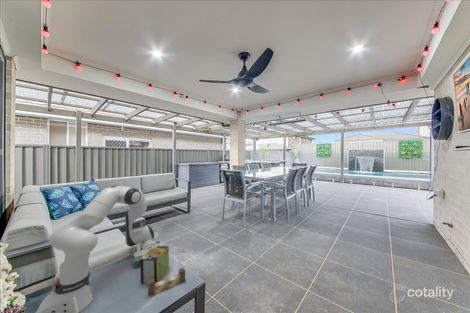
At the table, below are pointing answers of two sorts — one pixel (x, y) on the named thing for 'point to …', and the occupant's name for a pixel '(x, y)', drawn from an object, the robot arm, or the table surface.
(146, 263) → the protein box
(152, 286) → the beam
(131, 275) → the table surface
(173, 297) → the table surface
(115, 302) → the table surface
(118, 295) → the table surface
